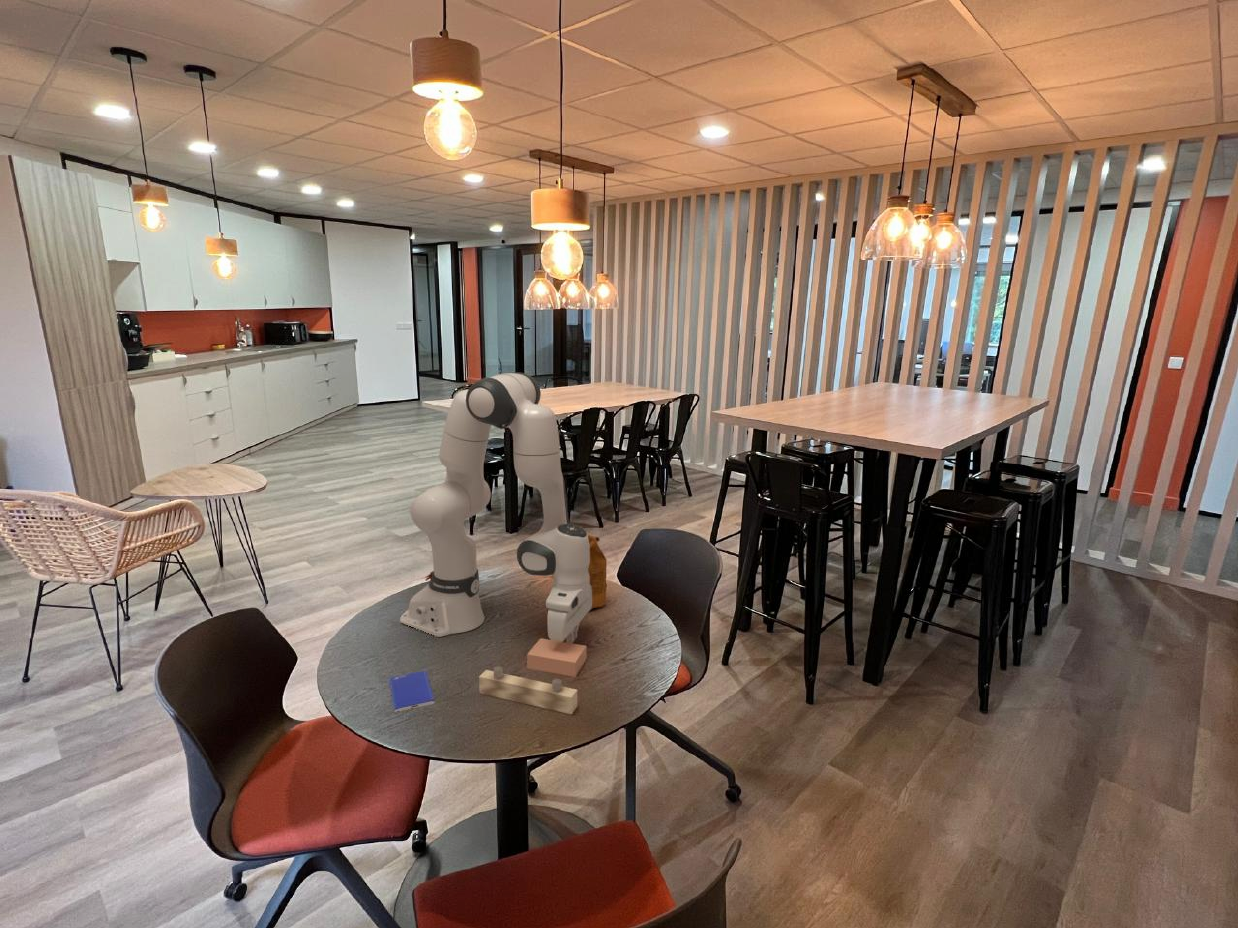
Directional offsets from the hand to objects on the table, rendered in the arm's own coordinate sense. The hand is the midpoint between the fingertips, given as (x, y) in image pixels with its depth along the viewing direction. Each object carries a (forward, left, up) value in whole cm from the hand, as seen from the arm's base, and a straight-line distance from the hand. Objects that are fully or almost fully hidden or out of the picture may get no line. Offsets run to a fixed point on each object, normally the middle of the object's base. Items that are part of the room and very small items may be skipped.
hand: (571, 640), depth 159 cm
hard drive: (-25, -31, -2) cm, 40 cm away
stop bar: (0, -24, -2) cm, 24 cm away
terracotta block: (0, -9, -2) cm, 9 cm away
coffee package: (-6, +24, -2) cm, 25 cm away
